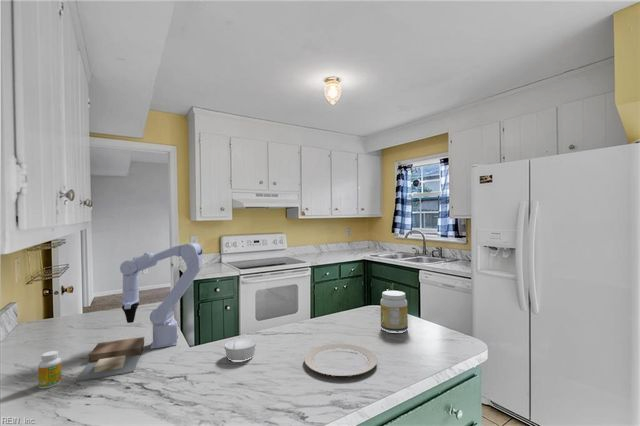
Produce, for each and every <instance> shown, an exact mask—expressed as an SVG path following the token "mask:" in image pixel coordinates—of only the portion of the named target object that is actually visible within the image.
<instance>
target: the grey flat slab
mask: <svg viewBox="0 0 640 426" xmlns="http://www.w3.org/2000/svg"><path fill="white" fill-rule="evenodd" d="M140 356H141V354H140V355H135V356H129V357H125V363H124V365H123V367H122V368H120V369H114V370H107V371H101V372H95V373H94V366H95V365H96V363H97V362H98V361H96V362H89V361H88V363H87V364H86V366H85V367H84V368H83V370H81V372H80V374H79V376H77V378H76V380H75V383H77V382H84V381H88V380H95V379H96V380H97V379H101V378H106V377H114V376H119V375H125V373H126V374H131V373H130V372H132V373H134V372H135V368H136V366H137V364H138V361H139V359H140Z"/></svg>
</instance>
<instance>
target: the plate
mask: <svg viewBox="0 0 640 426" xmlns="http://www.w3.org/2000/svg"><path fill="white" fill-rule="evenodd" d="M335 348H342V349H351V350H354V351H358V352H360V353H362V354H363V355H365V356H366V357H367V359H368V361H369V365H368V364H367V367H366V368H365V369H364V370H361V371H357V372H356V373H352V374H351V373H350V374H333V373H329V372H325V371H322V370H319V369H318V368H316V367H315V365H314V363H313V364H312V360H313V358H314V356H315V355H316V354H317V353H319V352H321V351H324V350H328V349H335ZM304 363H305V365H306V367H308V368H309V369H311V370H312V371H315V372H317V373H319V374H322V375H325V374H326V376H329V375H331V376H330V377H335V376H348V377H353V375H354V376H357V375H362V374H365V373H368V372H370V371H371V370H372V369H373V368H375V367H376V365H377V364H378V358H377V356H376V355H375V354H374V353H373V351H371V350H369V349H367V348H365V347H362V346H361V345H360V346H359V345H356V344H350V343H349V344H347V343H331V344H324V345H321V346H316V347H314V348H312V349H310V350H309V351H308V352H307V353H306V354H305V356H304ZM313 365H314V366H313Z"/></svg>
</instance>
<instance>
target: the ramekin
mask: <svg viewBox="0 0 640 426" xmlns="http://www.w3.org/2000/svg"><path fill="white" fill-rule="evenodd" d="M256 346H257V342H256V340H255V339H253V338H249V337H248V338H247V337H241V338H235V339H232V340H230V341H227V342H226V343H225V344H224V350H225V354H226V359H227V358H229V359H231V360H245V359H248V358H250V357H252V356H253V357H254V355H255V350H256ZM253 357H252V358H253Z"/></svg>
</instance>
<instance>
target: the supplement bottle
mask: <svg viewBox="0 0 640 426" xmlns="http://www.w3.org/2000/svg"><path fill="white" fill-rule="evenodd" d="M37 368H38V373H37V374H38V375H37V376H38V379H37V381H38V382H37V383H38V384H37V387H38V389H48V388H49V389H51V388H53V387H56V386H57V385H60V383H61V381H62V380H61V379H62V358H60V357H59V351H58V350H50V351H47V352H44V353H42V354H41V361H40V362H39V363H38V367H37Z"/></svg>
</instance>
